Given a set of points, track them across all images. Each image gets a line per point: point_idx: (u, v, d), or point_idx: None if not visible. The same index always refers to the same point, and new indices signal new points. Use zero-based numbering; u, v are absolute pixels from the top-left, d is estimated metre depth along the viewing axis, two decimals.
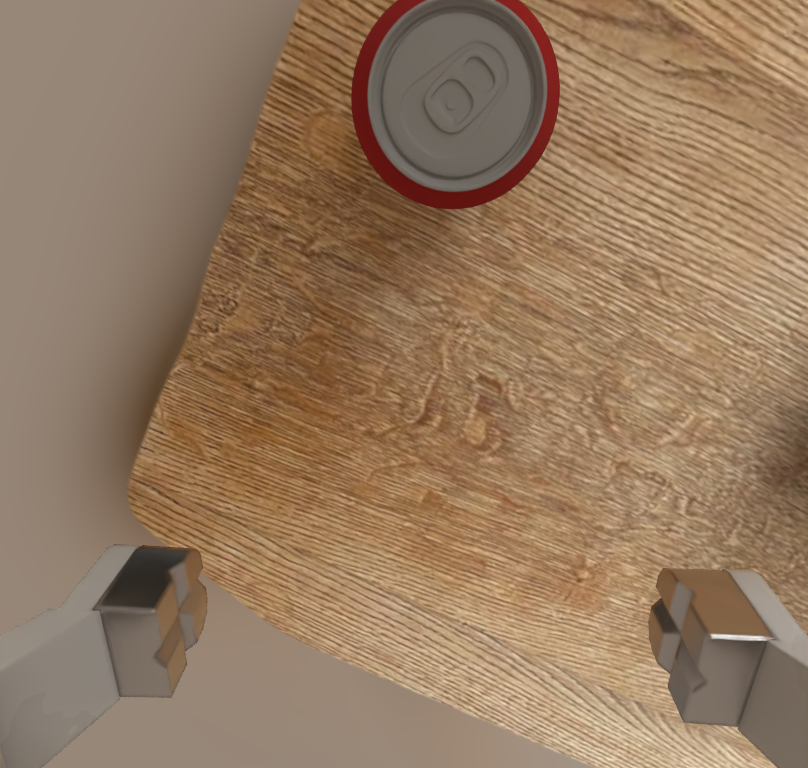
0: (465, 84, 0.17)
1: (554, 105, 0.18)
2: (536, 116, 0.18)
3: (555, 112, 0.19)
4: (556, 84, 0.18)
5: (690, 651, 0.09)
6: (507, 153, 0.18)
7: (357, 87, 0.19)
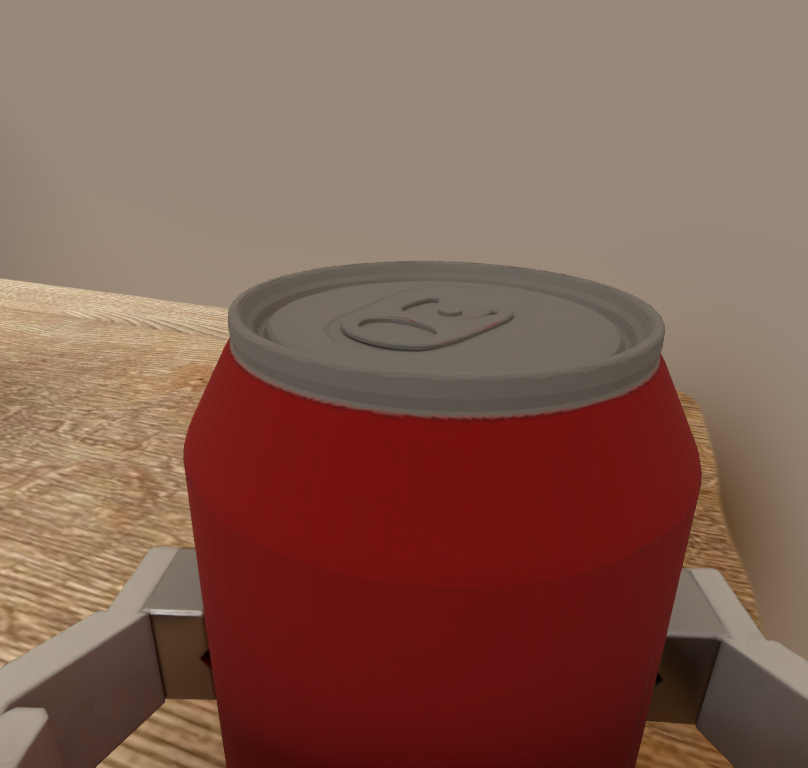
0: (426, 326, 0.07)
1: None
2: (255, 304, 0.08)
3: None
4: (195, 415, 0.07)
5: None
6: (316, 295, 0.09)
7: None
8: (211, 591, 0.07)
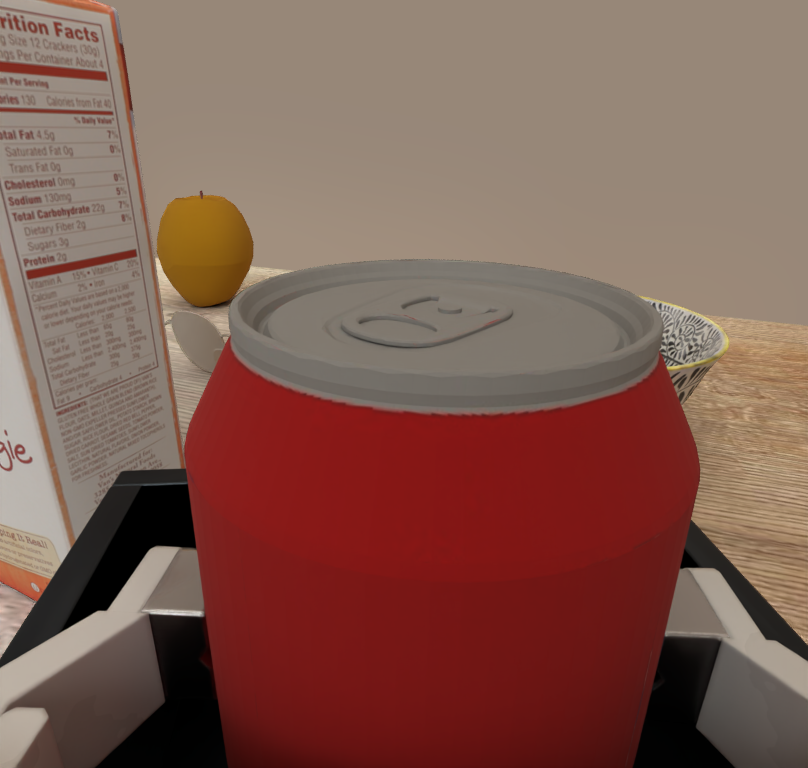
0: (425, 324, 0.07)
1: None
2: (256, 302, 0.08)
3: None
4: (196, 413, 0.07)
5: None
6: (316, 292, 0.09)
7: None
8: (212, 587, 0.07)
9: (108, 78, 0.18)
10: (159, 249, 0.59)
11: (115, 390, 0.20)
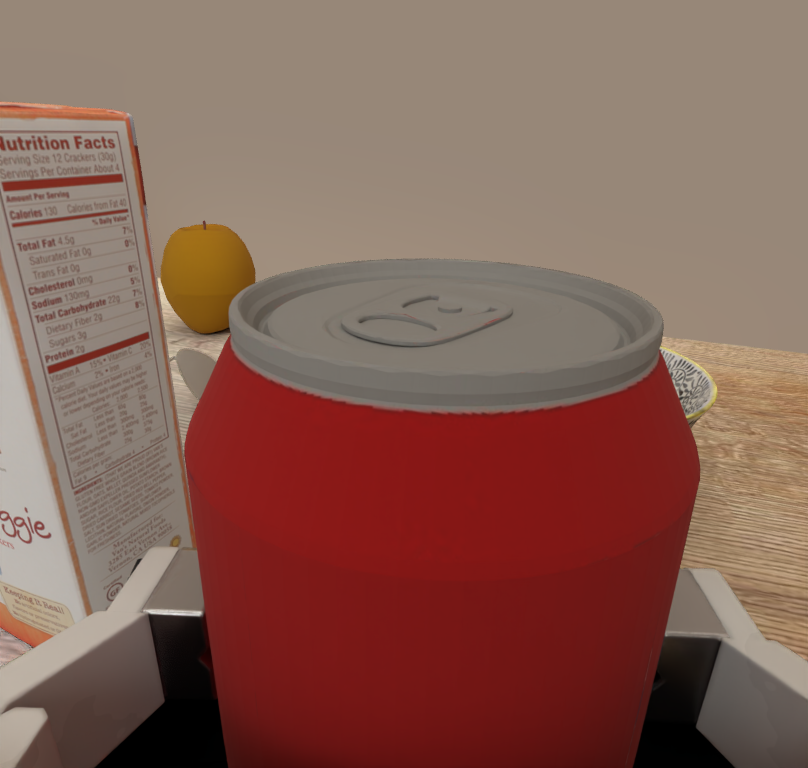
0: (425, 322, 0.07)
1: None
2: (257, 302, 0.08)
3: None
4: (196, 412, 0.07)
5: None
6: (317, 292, 0.09)
7: None
8: (212, 586, 0.07)
9: (124, 179, 0.19)
10: (163, 278, 0.60)
11: (129, 464, 0.22)
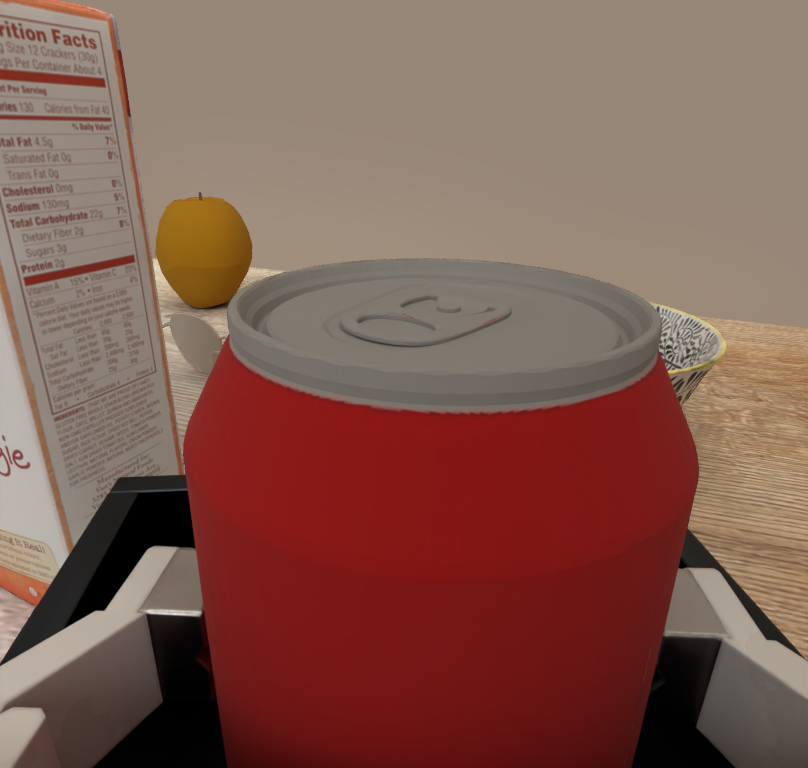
0: (424, 322, 0.07)
1: (205, 385, 0.08)
2: (255, 301, 0.08)
3: None
4: (195, 411, 0.07)
5: None
6: (315, 292, 0.09)
7: None
8: (211, 586, 0.07)
9: (106, 84, 0.18)
10: (158, 251, 0.59)
11: (113, 395, 0.21)
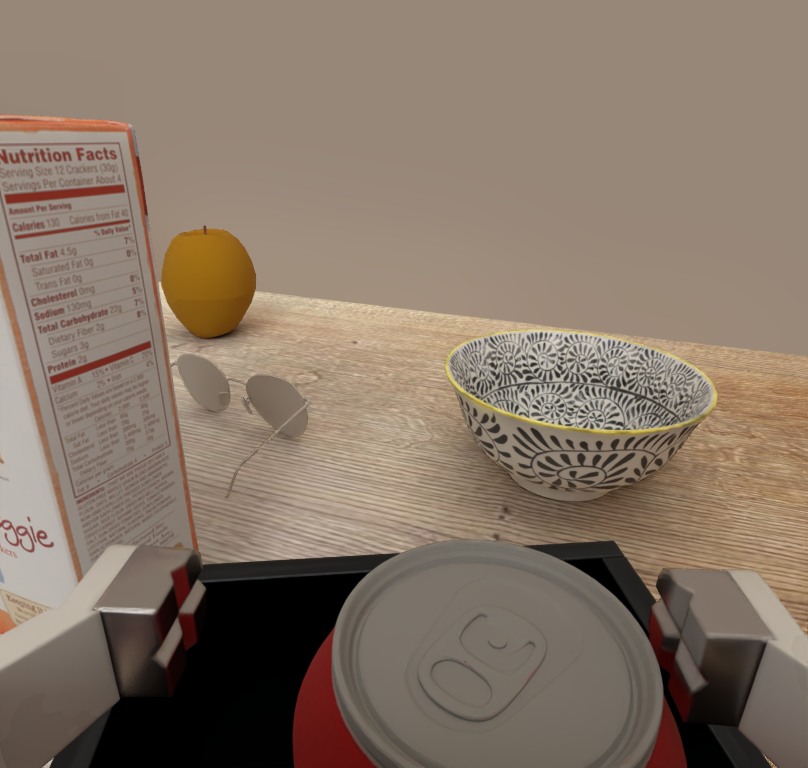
0: (481, 669, 0.09)
1: (307, 696, 0.10)
2: (347, 632, 0.10)
3: (301, 696, 0.10)
4: (304, 733, 0.10)
5: (690, 651, 0.09)
6: (387, 592, 0.11)
7: (664, 696, 0.10)
8: None
9: (125, 189, 0.19)
10: (164, 283, 0.61)
11: (131, 473, 0.22)
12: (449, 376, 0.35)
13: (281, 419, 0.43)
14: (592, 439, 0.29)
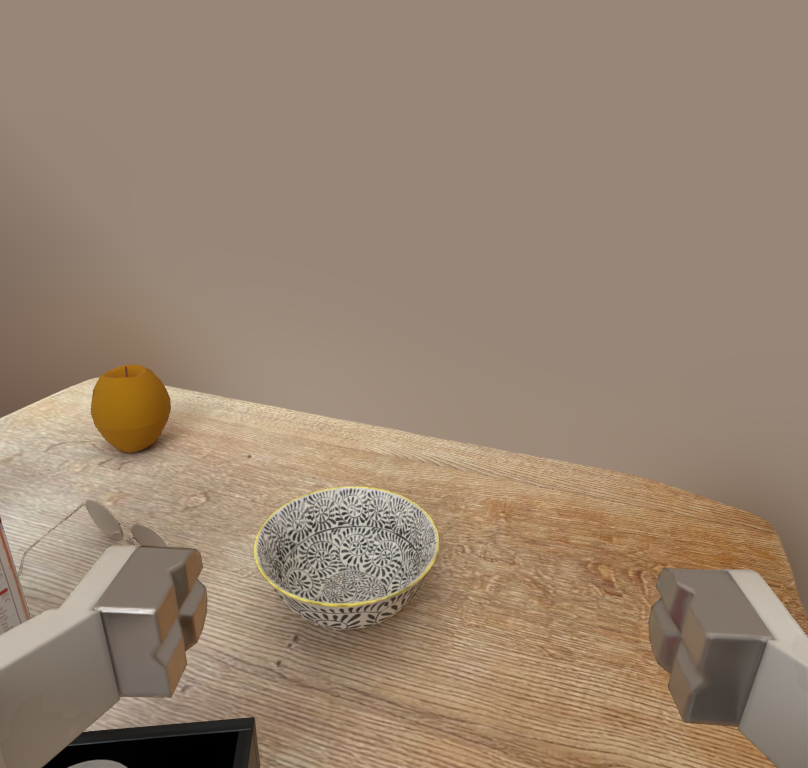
0: None
1: None
2: None
3: None
4: None
5: (690, 651, 0.09)
6: None
7: None
8: None
9: None
10: (92, 413, 0.76)
11: None
12: (254, 545, 0.50)
13: None
14: (325, 608, 0.44)
